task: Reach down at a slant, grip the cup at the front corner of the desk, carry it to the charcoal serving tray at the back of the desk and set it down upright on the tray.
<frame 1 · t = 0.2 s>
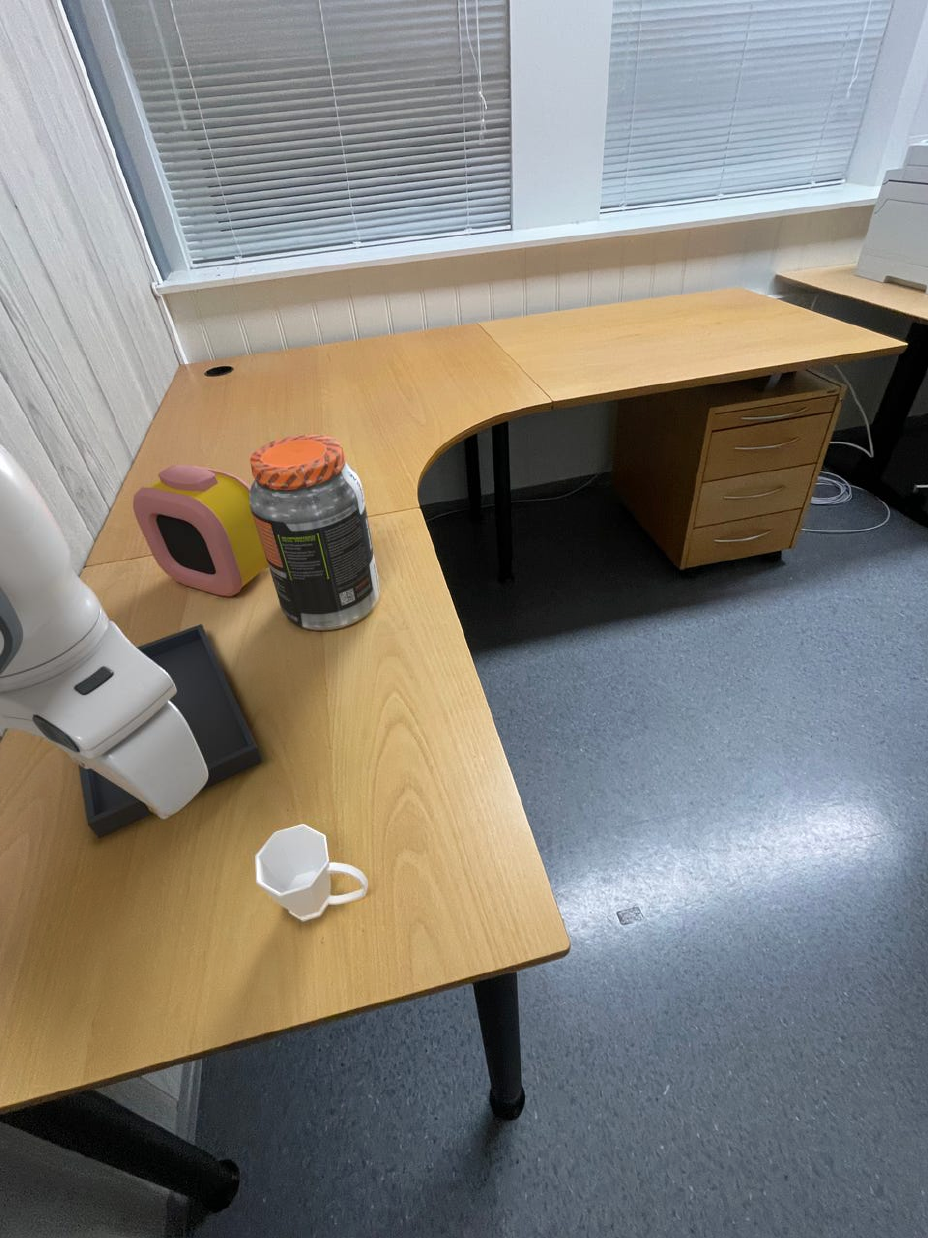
hand: (127, 783, 49), 19 cm above the table, tool pointing down, fingers open, 8 cm apart
tray: (161, 722, 79), on the table
cup: (324, 901, 60), on the table
supplement tub: (332, 604, 97), on the table
alarm clock: (224, 577, 104), on the table
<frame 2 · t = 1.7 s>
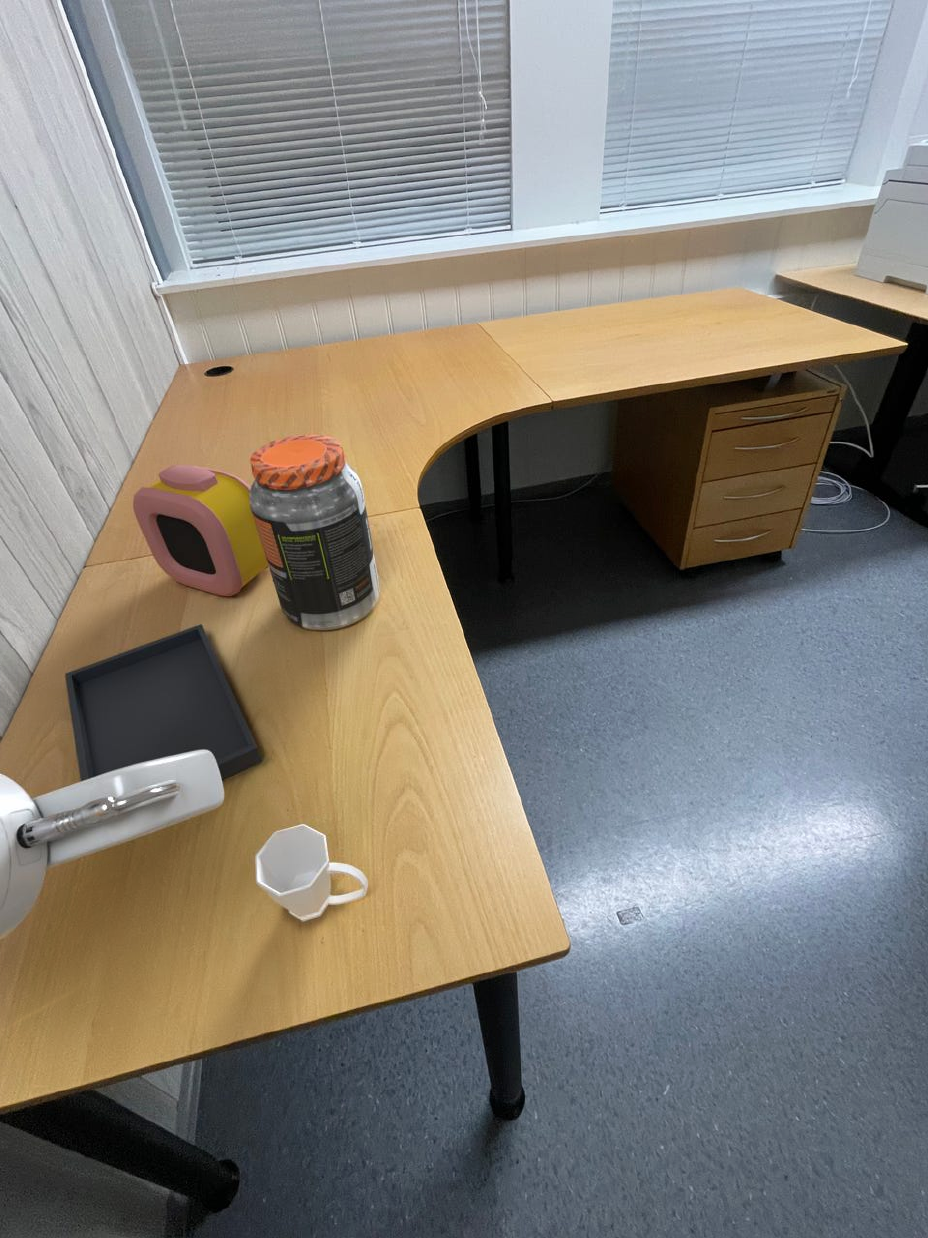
hand: (128, 809, 42), 23 cm above the table, tool tilted 45°, fingers open, 8 cm apart
nothing on the table moved.
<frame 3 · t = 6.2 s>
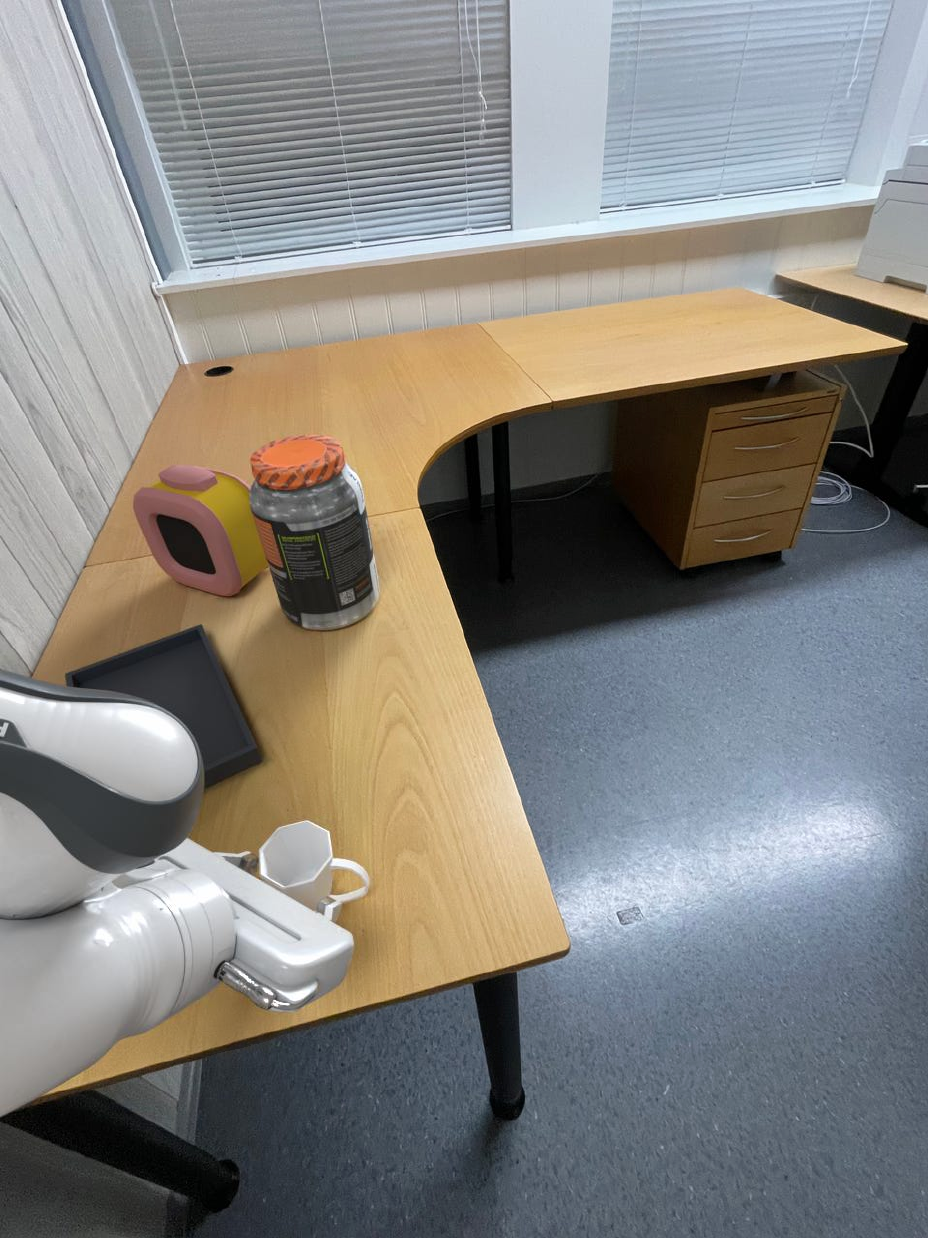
hand: (292, 884, 55), 7 cm above the table, tool tilted 45°, fingers open, 8 cm apart
nothing on the table moved.
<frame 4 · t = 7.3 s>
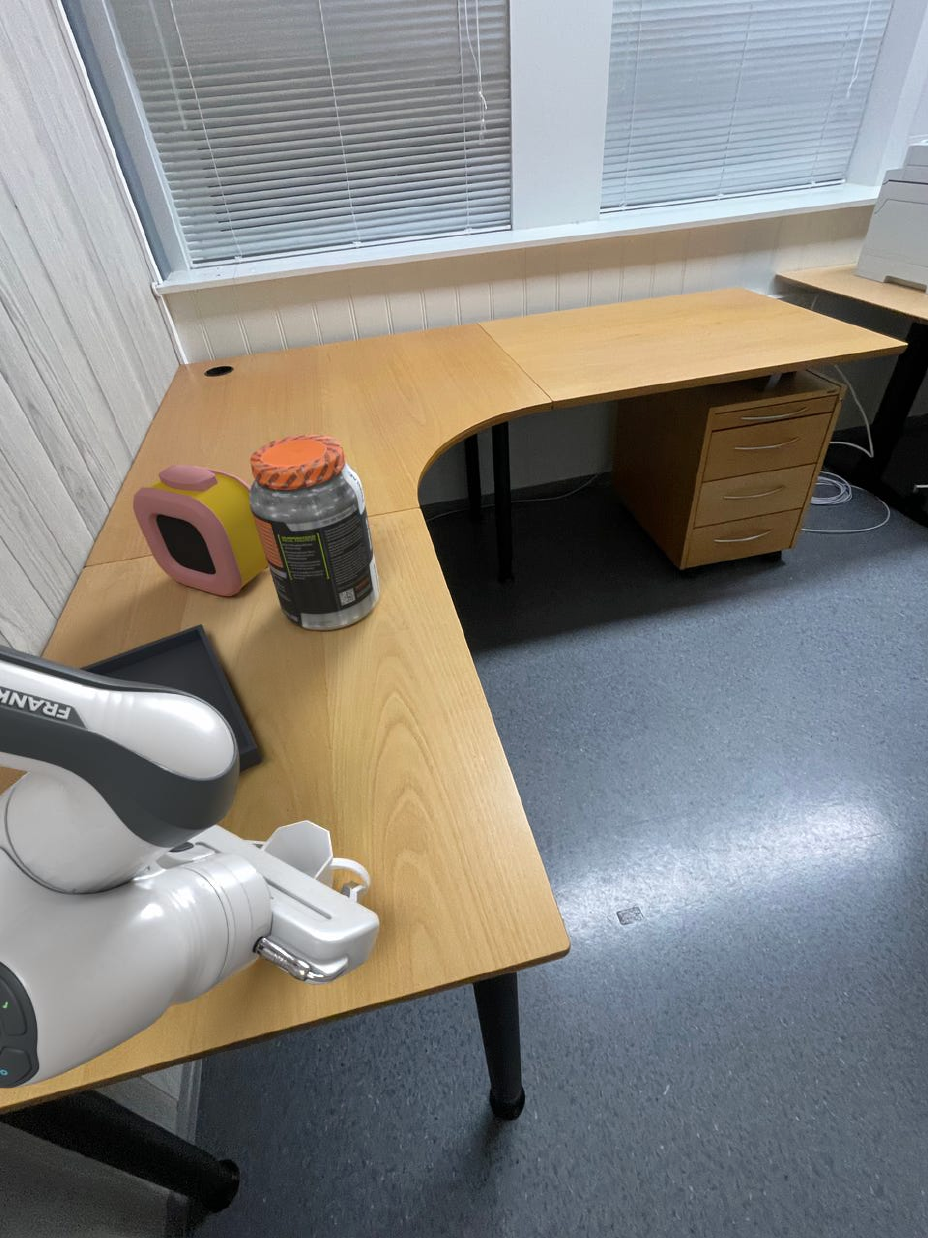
hand: (317, 870, 58), 4 cm above the table, tool tilted 45°, fingers closed on cup, 8 cm apart
cup: (324, 900, 60), on the table, touching gripper
everything else where it was.
when the fingers open (5 cm above the table, at t = 17.4 s): cup stays where it is, resting on tray.
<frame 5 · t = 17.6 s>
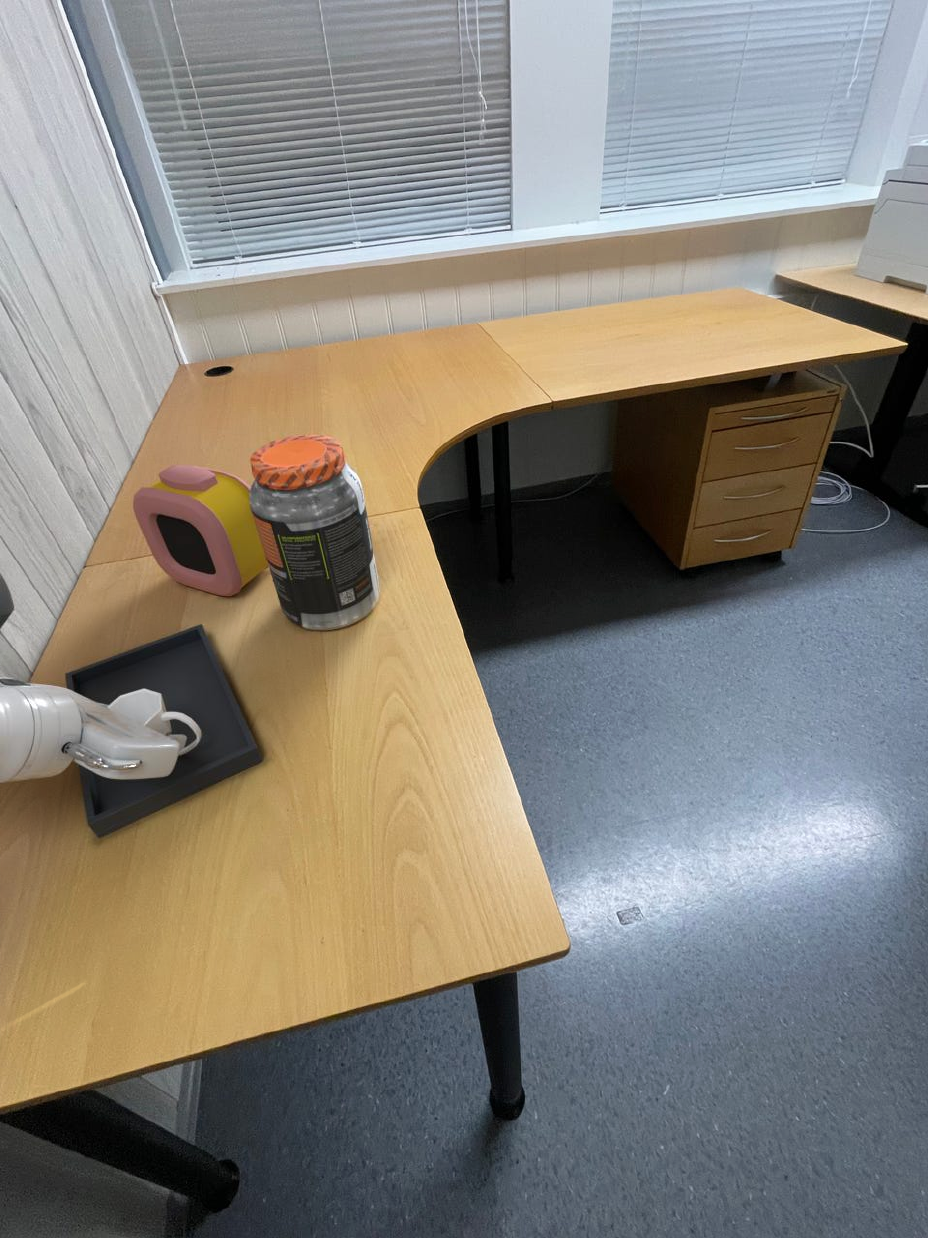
hand: (153, 727, 72), 5 cm above the table, tool tilted 45°, fingers open, 8 cm apart
cup: (170, 755, 74), point 1 cm above the table, touching gripper, tray
everything else where it was.
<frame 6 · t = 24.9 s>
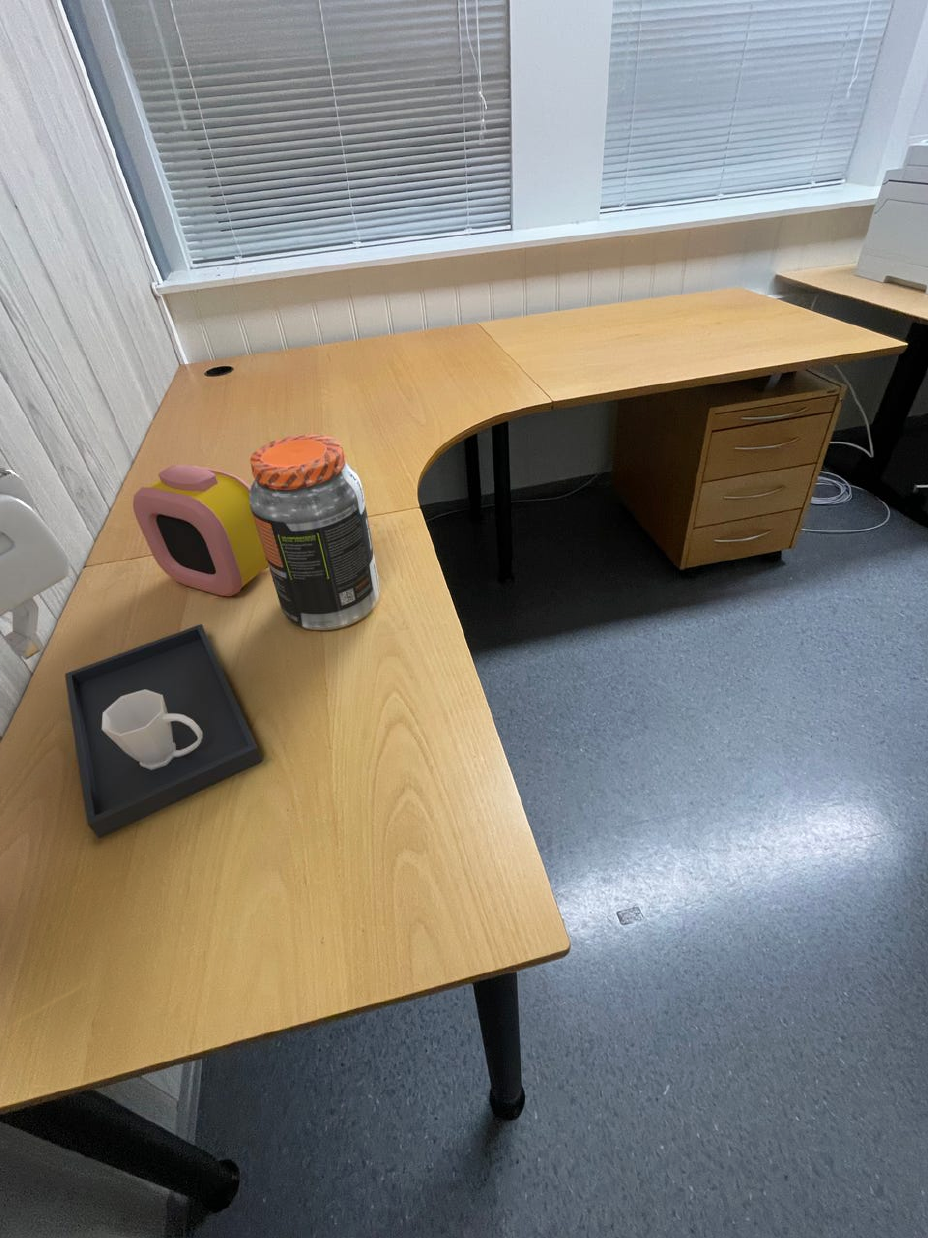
cup: (171, 755, 74), point 1 cm above the table, touching tray
everything else where it was.
at the end: cup inside the target area in the tray (1.6 cm from its centre), point 0.6 cm above the tray's base; cup tilted 0° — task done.
